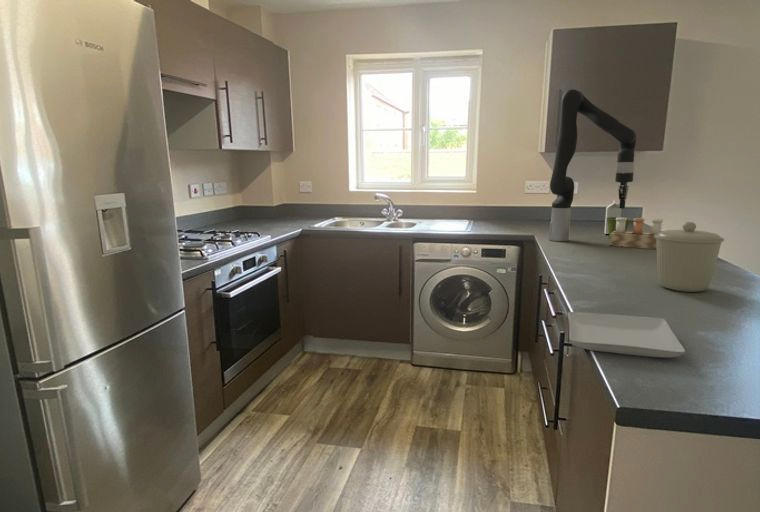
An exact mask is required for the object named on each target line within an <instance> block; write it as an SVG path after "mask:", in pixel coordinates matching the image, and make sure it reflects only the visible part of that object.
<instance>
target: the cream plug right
mask: <svg viewBox="0 0 760 512" xmlns="http://www.w3.org/2000/svg"><path fill="white" fill-rule="evenodd" d="M663 220H664V219H660V218H651V220H650V222H651V228H650V233H651V235H655V234H658V233H659V232H661V231H662V225H663V224H662V223H663Z"/></svg>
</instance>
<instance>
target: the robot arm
mask: <svg viewBox="0 0 760 512" xmlns="http://www.w3.org/2000/svg"><path fill="white" fill-rule="evenodd" d="M560 110H561V115H560V124H559V128H558V134H557V140H556V141H557V142H556V148H555V149H556V150H555V158H554V165H553V170H552V173H551V178H550V181H549V182H550V183H549V188H550V192H551V193H552V194H553V195H556V198H555V199H554V200H553V202H552V203H551V215H550V217H551V219H550V220H551V221H550V222H549V233H548V241H553V242H568V240H570V226H571V225H570V224H571V209H572V203H573V201H574V193H575V192H574V191H575V183H574V180H573V178H572V177H570V176H567V172H568V171H567V170H568V167H569V164H570V162H571V161H572V160H573V158H574V156H575V154H576V150H577V144H578V126H577V125H578V124H577V119H578V118H577V117H578V113H579V114H581V115H583V116H584V117H586V118H587V119H588V120H590V121H591V122H592V123H593V124H594V125H595V126H596V127H598V128H600V129H601V130H602V131H603V132H605V133H607V134H609V135H611V136H612V137H613V138H614V139H615V140H617V141H618V142H619V149H618V153H617V161H616V166H615V183H620V184H619V186H618V191H617V192H618V199H619V204H620V206H619V208H621V209H625V208H626V201H627V199H628V192H629V187H630V186H629V185H628V183H632V182H634V172H635V171H634V170H635V150H636V144H637V133H636V131H635V130H633V129H632V128H630V127H628V126H626V125H625V124H623V123H621V122H620V121H619V120H618V119H617V118H615V117H614V116H612V115H611V114H610V113H607V112H606V111H604V110H602V109H601V108H599V107H598V106H596V105H595V104H593V103H592V102H591V101H590V100H589V99H588V98H587V97H586V96H585V95H584V94H583V92H581V91H579V90H578V89H573V88H571V89H569V90H567V91H565V92H564V93H563V95H562V98H561V109H560Z"/></svg>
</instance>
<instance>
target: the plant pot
mask: <svg viewBox="0 0 760 512" xmlns="http://www.w3.org/2000/svg"><path fill="white" fill-rule="evenodd" d="M605 218H606V217H605ZM616 218H625V217H624V216H623V217H622V216H621V217H607V218H606V219H607V223H608V233H609V235H608V239H609V238H610V234H611V233H612V232H613V231H616ZM626 218H627V220H626V223H625V232H628V231H627V230H628V227H629V225H630V222H631V221H632V218H630V217H626Z"/></svg>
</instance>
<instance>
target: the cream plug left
mask: <svg viewBox="0 0 760 512" xmlns="http://www.w3.org/2000/svg"><path fill="white" fill-rule="evenodd" d="M627 218H628V217H624V218H616V233H622V234H625V223H626V220H627Z"/></svg>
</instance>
